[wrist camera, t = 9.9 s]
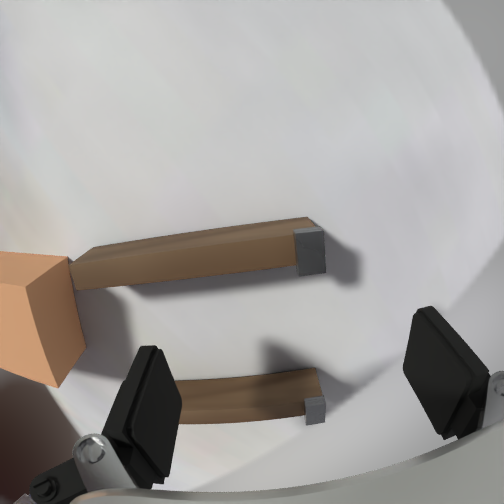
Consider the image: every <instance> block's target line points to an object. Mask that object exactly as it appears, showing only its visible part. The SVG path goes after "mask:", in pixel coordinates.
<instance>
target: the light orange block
mask: <svg viewBox="0 0 504 504" xmlns="http://www.w3.org/2000/svg"><path fill="white" fill-rule="evenodd" d="M85 349H86V344H85V340H84V337H83V333H82V329H81V325H80V320H79V316H78V311H77V307H76V302H75V297H74V292H73V287H72V281H71V276H70V269H69V263H68V257H66V256H53V255H40V254H27V253H15V252H3V251H0V368H2V369H5V370H7V371H10V372H12V373H15V374H17V375H20V376H23V377H26V378H28V379H31V380H34V381H37V382H40V383H43V384H46V385H49V386H52V387H55V388H59V387H60V385H61V384H62V382H63V381H64V379H65V378H66V376H67V375H68V373H69V372H70V370H71V369H72V367H73V366H74V365H75V363H76V362H77V360H78V359H79V357H80V356H81V354H82V353H83V352H84V350H85Z"/></svg>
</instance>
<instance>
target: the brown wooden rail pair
mask: <svg viewBox="0 0 504 504" xmlns="http://www.w3.org/2000/svg"><path fill="white" fill-rule="evenodd" d="M294 265H296V269H297V272H298V275H299V276H305V275H313V274H320V273H326V266H325V245H324V230H323V229H322V228H321V227H320V226H317V227H316V226H315V225H314V224H313V223H312V222H311V220H310V219H309V218H308V217H302V218H294V219H286V220H278V221H270V222H262V223H254V224H246V225H239V226H231V227H224V228H216V229H209V230H202V231H195V232H188V233H181V234H174V235H168V236H161V237H155V238H148V239H142V240H135V241H129V242H123V243H117V244H110V245H104V246H98V247H93V248H92V249H90V250H89V251H87V252H86V253H85V254H83V255H82V256H80V257H79V258H78V259H76V260H75V261H74V262H72V263H71V264H70V265H69V269H70V272H71V275H72V278H73V281H74V284H75V287H76V290H87V289H97V288H107V287H116V286H126V285H135V284H145V283H154V282H163V281H172V280H181V279H189V278H198V277H206V276H215V275H223V274H231V273H239V272H247V271H255V270H263V269H271V268H279V267H286V266H294ZM175 383H176V386H177V388H178V391H179V393H180V395H181V398H182V409H181V415H180V420H179V424H220V423H238V422H252V421H263V420H272V419H281V418H288V417H296V416H302V415H305V422H306V425H312V424H318V423H324V422H325V409H326V403H325V399H324V395H322V391H321V387H320V384H319V380H318V377H317V373H316V370H315V368H310V369H304V370H297V371H290V372H283V373H275V374H266V375H257V376H248V377H237V378H224V379H209V380H188V381H175Z"/></svg>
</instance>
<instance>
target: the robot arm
mask: <svg viewBox="0 0 504 504" xmlns="http://www.w3.org/2000/svg"><path fill="white" fill-rule="evenodd" d="M403 371H404V374H405V376H406V378H407V379H408V381H409V383H410V385H411V387H412V388H413V390H414V392H415V394H416V395H417V397H418V399H419V401H420V403H421V405H422V406H423V408H424V410H425V412H426V414H427V416H428V417H429V419H430V421H431V423H432V425H433V427H434V429H435V431H436V432H437V434H439V435H440V434H441V435H442V437H443V439H444V440H446V439H448V438H450V437H452V436H455V435H456V436H457V438H458V440H456V441H454V442H452V443H450V444H447V445H445V446H442V447H440V448H438V449H435V450H433V451H430V452H428V453H425V454H423V455H420V456H417V457H414V458H412V459H409V460H406V461H403V462H400V463H397V464H394V465H391V466H388V467H384V468H381V469H378V470H374V471H370V472H367V473H363V474H359V475H355V476H351V477H346V478H342V479H338V480H332V481H328V482H322V483H316V484H311V485H304V486H298V487H290V488H282V489H272V490H260V491H244V492H183V491H167V490H152V489H151V488H152V485H153V483H156V484H164V479H165V477H169V474H170V469H171V463H172V457H173V452H174V446H175V441H176V436H177V430H178V425H179V420H180V415H181V409H182V398H181V395H180V393H179V391H178V388H177V386H176V383H175V381H174V379H173V376H172V374H171V371H170V369H169V366H168V363H167V361H166V358H165V356H164V353H163V351H162V349H158V348H157V346H155V345H153V346H141V347H140V348H139V350H138V352H137V355H136V357H135V359H134V361H133V364H132V366H131V368H130V371H129V373H128V375H127V378H126V380H125V381H123V383H122V384H121V386H120V389H119V391H118V394H117V396H116V398H115V401H114V403H113V406H112V408H111V411H110V413H109V416H108V418H107V421H106V423H105V426H104V428H103V431H102V434H101V435H100V434H88V435H85V436H83V437H82V438H80V439H79V440H78V441H77V442H76V444H75V446H74V447H73V458H72V459H70V460H68V461H66V462H64V463H62V464H60V465H58V466H56V467H54V468H52V469H50V470H48V471H46V472H44V473H42V474H40V475H38V476H36V477H35V478H34V479H33V480H32V482H31V485H30V490H29V491H30V494H29V495H28V496H27V495H26V494H24V495H23V496H22V497H21V498H20V499H18V500H17V501H16V502H15V503H14V504H504V371H499V372H496V373H494V374H493V375H492V376H490V374H489V373H488V372H489V370H488V369H487V367H486V366H485V365H484V364H483V362H482V361H481V360H480V359H479V358H478V356H477V355H476V354H475V353H474V352H473V350H472V349H470V347H469V346H468V345H467V344H466V342H465V341H464V340H463V339H462V338H461V337H460V336H459V335H458V333H457V332H456V331H455V330H454V329H453V328H452V327H451V326H450V324H449V323H448V322H447V321H446V320H445V319H444V318H443V317H442V316H441V315H440V314H439V313H438V311H437V310H436V309H435V308H434V307H432V306H428V307H424V308H419V309H418V310H417V312H416V313H415V314H414V315H413V319H412V324H411V330H410V335H409V340H408V345H407V350H406V354H405V359H404V363H403Z"/></svg>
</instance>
